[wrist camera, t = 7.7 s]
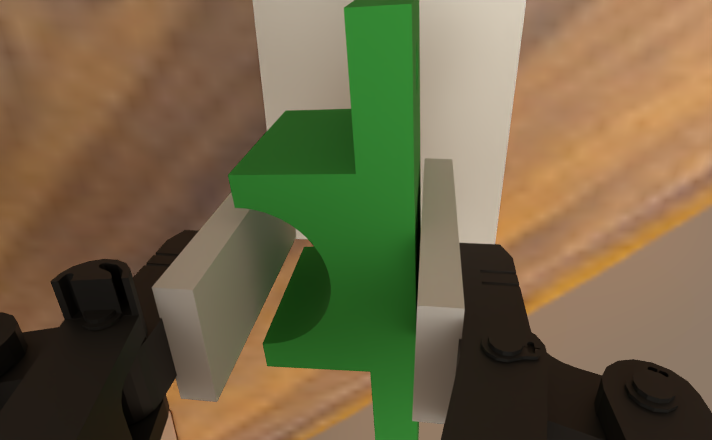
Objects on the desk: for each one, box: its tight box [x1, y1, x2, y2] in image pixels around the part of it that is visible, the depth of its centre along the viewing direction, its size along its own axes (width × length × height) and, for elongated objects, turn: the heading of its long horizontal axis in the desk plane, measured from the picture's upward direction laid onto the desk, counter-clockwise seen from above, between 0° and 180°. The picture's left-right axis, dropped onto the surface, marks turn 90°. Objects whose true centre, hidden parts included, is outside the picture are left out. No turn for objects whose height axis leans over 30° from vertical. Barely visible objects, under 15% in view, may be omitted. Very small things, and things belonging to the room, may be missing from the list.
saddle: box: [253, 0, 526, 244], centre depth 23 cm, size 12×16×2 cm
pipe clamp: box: [228, 0, 421, 440], centre depth 13 cm, size 11×4×5 cm, turn 4°
